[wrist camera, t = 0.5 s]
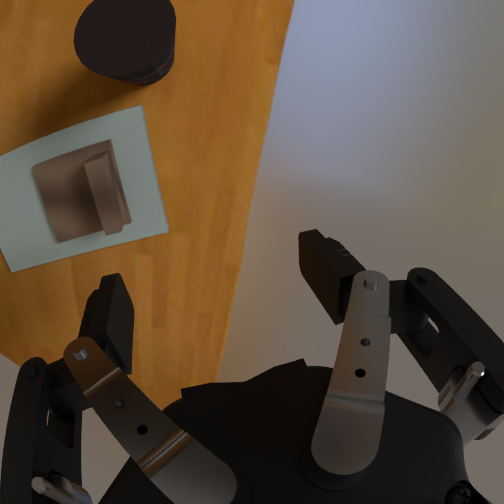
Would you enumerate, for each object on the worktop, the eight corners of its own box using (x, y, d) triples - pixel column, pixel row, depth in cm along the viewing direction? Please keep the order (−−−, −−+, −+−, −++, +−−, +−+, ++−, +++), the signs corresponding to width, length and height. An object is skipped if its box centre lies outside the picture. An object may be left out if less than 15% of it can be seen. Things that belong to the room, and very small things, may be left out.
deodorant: (185, 61, 26) (196, 33, 13) (138, 96, 26) (109, 97, 14) (153, 22, 23) (141, -32, 10) (106, 57, 23) (56, 31, 11)
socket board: (-20, 166, 23) (-28, 170, 22) (142, 104, 27) (140, 105, 25) (17, 264, 31) (11, 272, 29) (168, 224, 34) (168, 232, 32)
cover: (35, 164, 24) (15, 177, 20) (111, 138, 26) (100, 146, 22) (60, 239, 29) (47, 261, 25) (131, 220, 30) (126, 240, 26)
